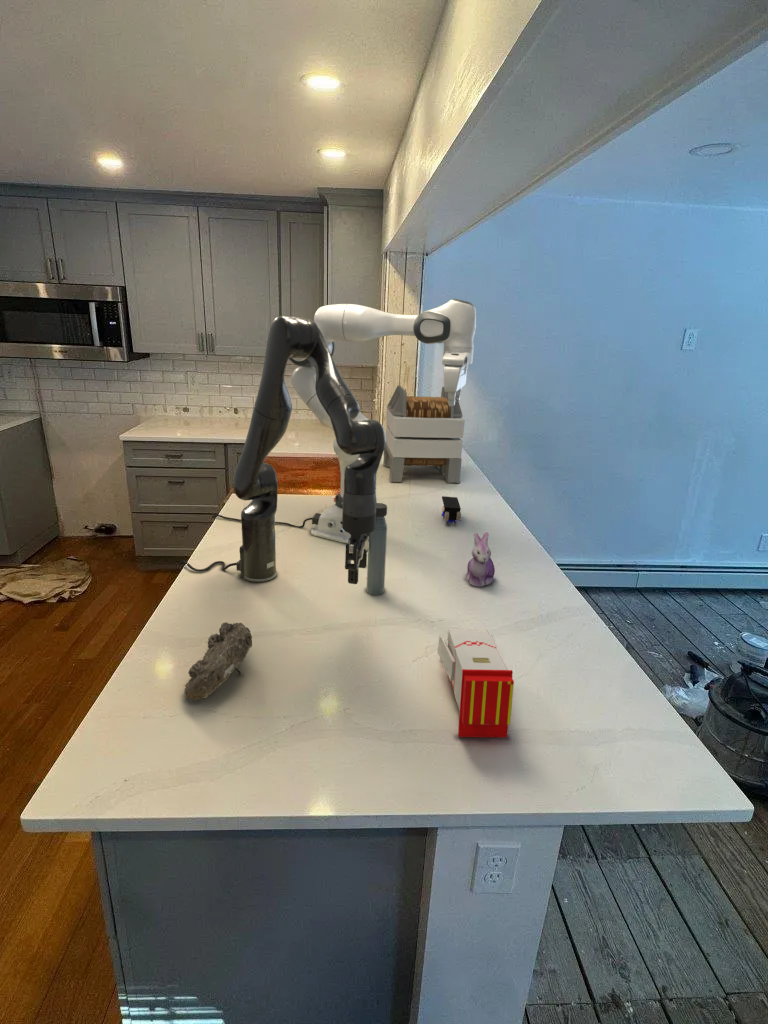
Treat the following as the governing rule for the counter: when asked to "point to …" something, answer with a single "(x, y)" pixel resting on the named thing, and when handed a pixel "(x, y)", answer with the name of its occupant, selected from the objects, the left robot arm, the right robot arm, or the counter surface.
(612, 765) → the counter surface
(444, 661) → the toy
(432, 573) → the counter surface
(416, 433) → the transformer
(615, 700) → the counter surface
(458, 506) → the figurine character
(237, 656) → the fossil
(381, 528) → the bottle
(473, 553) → the figurine
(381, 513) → the cap
